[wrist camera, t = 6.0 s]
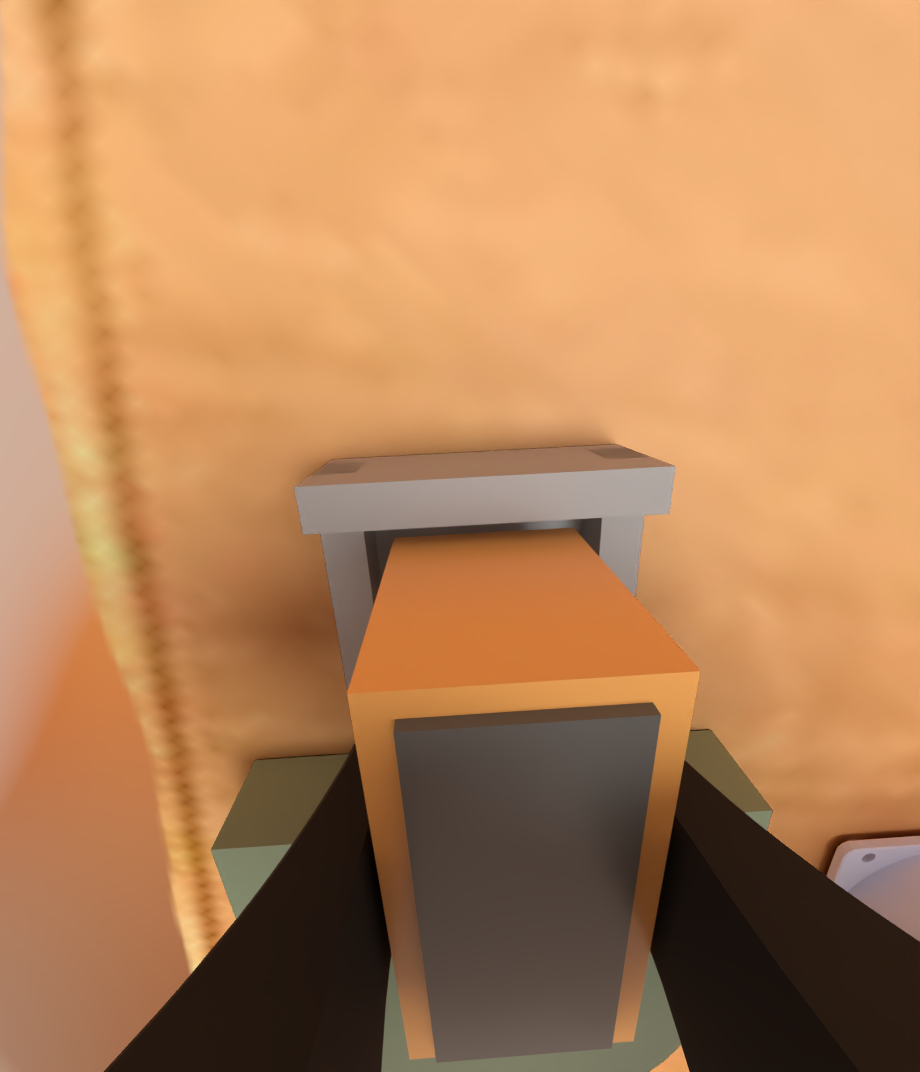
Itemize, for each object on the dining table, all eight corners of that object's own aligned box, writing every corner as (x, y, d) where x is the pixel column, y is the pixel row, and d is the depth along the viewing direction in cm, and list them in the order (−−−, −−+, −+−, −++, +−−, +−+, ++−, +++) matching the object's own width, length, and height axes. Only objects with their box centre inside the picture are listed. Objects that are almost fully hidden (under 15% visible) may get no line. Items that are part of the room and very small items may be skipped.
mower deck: (770, 436, 12) (995, 474, 7) (673, 916, 19) (750, 1096, 14) (172, 468, 11) (-22, 531, 7) (307, 943, 18) (260, 1136, 14)
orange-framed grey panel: (573, 527, 10) (710, 683, 5) (560, 788, 12) (638, 1058, 7) (394, 537, 9) (343, 706, 5) (422, 798, 12) (408, 1077, 7)
